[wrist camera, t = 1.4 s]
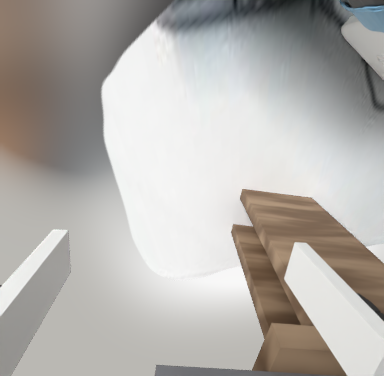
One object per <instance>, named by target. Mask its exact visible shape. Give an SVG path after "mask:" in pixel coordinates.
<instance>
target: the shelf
mask: <svg viewBox="0 0 384 376" xmlns="http://www.w3.org/2000/svg"><path fill="white" fill-rule="evenodd" d="M240 199H241V201H242V203H243V205H244V207H245V209H246V212H247V214H248V216H249V218H250V220H251V222H252V224H253V226H254V227H252V226H243V225H234V224H233V228H232V231H231V233H232V237H233V240H234V243H235V246H236V249H237V253H238V256H239V259H240V262H241V265H242V269H243V272H244V275H245V278H246V281H247V285H248V288H249V291H250V294H251V297H252V300H253V304H254V307H255V310H256V313H257V316H258V319H259V323H260V326H261V329H262V332H263V335H264V339H265V340H264V343H263V345H262V347H261V350H260V352H259V355H258V357H257V359H256V362H255V364H254V367H253V369H252V371H268V372H285V373H302V374H319V375H336V376H347V375H346V373H345V371H344V370H343V368H342V367H341V365H340V364H339V362H338V361H337V359H336V358H335V356H334V355H333V353H332V352H331V350H330V349H329V347H328V346H327V344H326V342H325V341H324V339H323V338H322V336H321V335H320V333H319V332H318V330H317V329H316V327H315V326H314V324H313V323H312V321H311V320H310V318H309V317H308V315H307V313H306V312H305V310H304V309H303V307H302V306H301V304H300V303H299V301H298V300H297V298H296V297H295V295H294V294H293V292H292V291H291V289H290V288H289V286H288V284H287V283H286V281H285V280H284V277H285V274H286V270H287V267H288V263H289V260H290V257H291V253H292V250H293V246H294V243H295V242H300V243H307V244H308V245H309V246H310V247H311V248H312V249H313V250H314V251H315V252H316V253H317V254H318V255H319V256H320V257H321V258H322V259H323V260H324V261H325V262H326V263H327V264H328V265H329V266H330V267H331V268H332V269H333V270H334V271H335V272H336V273H337V274H338V275H339V276H340V277H341V278H342V279H343V280H344V281H345V283H346V284H347V285H348V286H349V287H350V288H351V289H352V290H353V291H354V292H355V293H359V294H361V295H362V296H364V297H365V298H366V299H368V300H369V301H371V302H372V303H373V304H374V305H375V306H376V307H377V308H378V309H379V310H380V311H381V313H383V314H384V263H382V262H381V261H380V260H379V259H378V258H377V257H376V256H375V255H374V254H373V253H372V252H371V251H369V250H368V249H367V248H366V247H365V246H364V245H363V244H362V243H361V242H360V241H358V240H357V239H356V238H355V237H354V236H353V235H352V234H351V233H350V232H349V231H347V230H346V229H345V228H344V227H343V226H342V225H341V224H340V223H339V222H338V221H337V220H335V219H334V218H333V217H332V216H331V215H330V214H329V213H328V212H327V211H326V210H324V209H323V208H322V207H321V206H320V205H319V204H318V203H317V202H316V201H315V200H313V199H312V198H308V197H301V196H293V195H285V194H277V193H270V192H262V191H254V190H246V189H242V193H241V197H240Z"/></svg>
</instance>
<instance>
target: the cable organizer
mask: <svg viewBox="0 0 384 376" xmlns="http://www.w3.org/2000/svg"><path fill="white" fill-rule="evenodd" d="M341 32H342V35H343V36H344V38H345V39H346V40H347V41H348V42H349V44H350V45H351V46H352V47H353V48H354V49H355V50H356V51H357V52H358V53H359V54H360V55H361V56H362V58H363V59H364V60H365V61H366V62H367V63H368V64H369V65H370V66H371V67H372V68H373V69H374V70H375V71H376V73H377V74H378V75H379V76H380V77H381V78H382V79H383V80H384V33H383V32H376V31H371V30H369V29H367V28H365V27H364V26H363V25H362V24H361V22H360V21H359V20H358V19H357V18H356V17H355V16H354V15H352V16H350V18H349V19H348V20H347V21H346V22H345V24H344V25H343V26H342V28H341Z"/></svg>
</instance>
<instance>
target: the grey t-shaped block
mask: <svg viewBox="0 0 384 376" xmlns="http://www.w3.org/2000/svg"><path fill="white" fill-rule="evenodd" d="M155 376H336V375H319V374H302V373H285V372H268V371H251V370H250V371H249V370H234V369H217V368H200V367H183V366H165V365H156V371H155Z"/></svg>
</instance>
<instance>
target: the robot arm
mask: <svg viewBox="0 0 384 376" xmlns="http://www.w3.org/2000/svg"><path fill="white" fill-rule="evenodd" d="M340 4H341V5H342V7H343V8H345V9H346V10H348V11H351V12H352V13H353V15H354V16H355V17H356V18H357V19H358V20H359V21H360V22H361V24H362V25H363V26H364V27H365V28H367V29H369V30H371V31H376V32H383V33H384V0H340ZM68 234H69V233H68V230H56V229H55V230H54V229H53V230H52V231H51V232H50V234H49V235H48V236H47V237H46V238H45V239H44V240H43V241H42V242H41V243H40V245H39V246H38V247H37V248H36V249H35V250H34V251H33V252H32V253H31V254H30V256H29V257H28V258H27V259H26V260H25V261H24V262H23V263H22V264H21V266H20V267H19V268H18V269H17V270H16V271H15V272H14V273H13V274H12V275H11V277H10V278H9V279H8V280H7V281H6V282H5V283H4V284H3V285H0V376H11V375H12V373H13V371H14V370H15V368H16V366H17V365H18V363H19V361H20V359H21V358H22V356H23V354H24V352H25V351H26V349H27V347H28V345H29V344H30V342H31V340H32V339H33V336H34V335H35V333H36V332H37V329H38V328H39V326H40V325H41V323H42V321H43V319H44V318H45V316H46V314H47V313H48V311H49V309H50V307H51V306H52V304H53V302H54V300H55V299H56V297H57V295H58V293H59V292H60V290H61V288H62V287H63V285H64V283H65V281H66V279H67V278H68V276H69V274H70V272H71V267H70V251H69V235H68ZM284 280H285V281H286V283H287V284H288V286H289V288H290V289H291V291H292V292H293V294H294V295H295V297H296V298H297V300H298V301H299V303H300V304H301V306H302V307H303V309H304V310H305V312H306V313H307V315H308V317H309V318H310V320H311V321H312V323H313V324H314V326H315V327H316V329H317V330H318V332H319V333H320V335H321V336H322V338H323V339H324V341H325V342H326V344H327V346H328V347H329V349H330V350H331V352H332V353H333V355H334V356H335V358H336V359H337V361H338V362H339V364H340V365H341V367H342V368H343V370H344V371H345V373H346V375H347V376H384V314H383V313H381V311H380V310H379V309H378V308H377V307H376V306H375V305H374V304H373V303H372V302H371V301H369V300H368V299H366V298H365V297H364V296H362V295H361V294H359V293H355V292H354V291H353V290H352V289H351V288H350V287H349V286H348V285H347V284H346V283H345V281H344V280H343V279H342V278H341V277H340V276H339V275H338V274H337V273H336V272H335V271H334V270H333V269H332V268H331V267H330V266H329V265H328V264H327V263H326V262H325V261H324V260H323V259H322V258H321V257H320V256H319V255H318V254H317V253H316V252H315V251H314V250H313V249H312V248H311V247H310V246H309V245H308V244H307V243H300V242H295V243H294V246H293V250H292V253H291V257H290V260H289V263H288V267H287V270H286V274H285V277H284Z"/></svg>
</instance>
